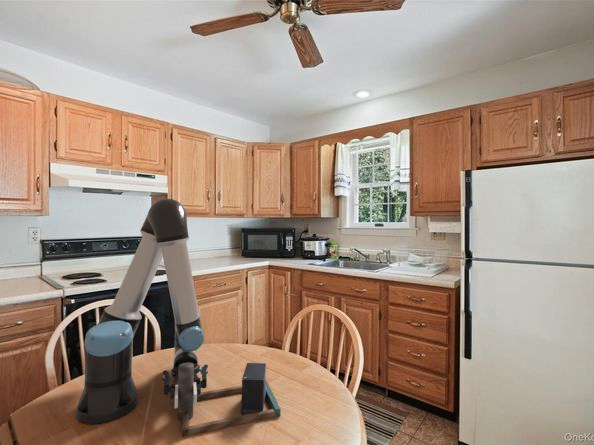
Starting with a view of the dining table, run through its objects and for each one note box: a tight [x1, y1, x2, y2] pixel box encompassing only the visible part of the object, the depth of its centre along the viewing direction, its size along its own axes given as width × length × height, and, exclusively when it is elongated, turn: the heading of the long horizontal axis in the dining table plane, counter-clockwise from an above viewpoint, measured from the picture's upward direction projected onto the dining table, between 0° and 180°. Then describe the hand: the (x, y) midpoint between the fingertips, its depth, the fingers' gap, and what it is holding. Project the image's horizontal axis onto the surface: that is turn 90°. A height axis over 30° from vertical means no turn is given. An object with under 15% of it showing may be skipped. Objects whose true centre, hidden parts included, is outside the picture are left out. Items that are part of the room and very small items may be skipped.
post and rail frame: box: [177, 363, 281, 437], centre depth 88 cm, size 27×16×14 cm, turn 110°
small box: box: [240, 362, 267, 416], centre depth 90 cm, size 11×6×10 cm, turn 2°
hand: (185, 401), depth 79 cm, fingers closed on post and rail frame, 4 cm apart
